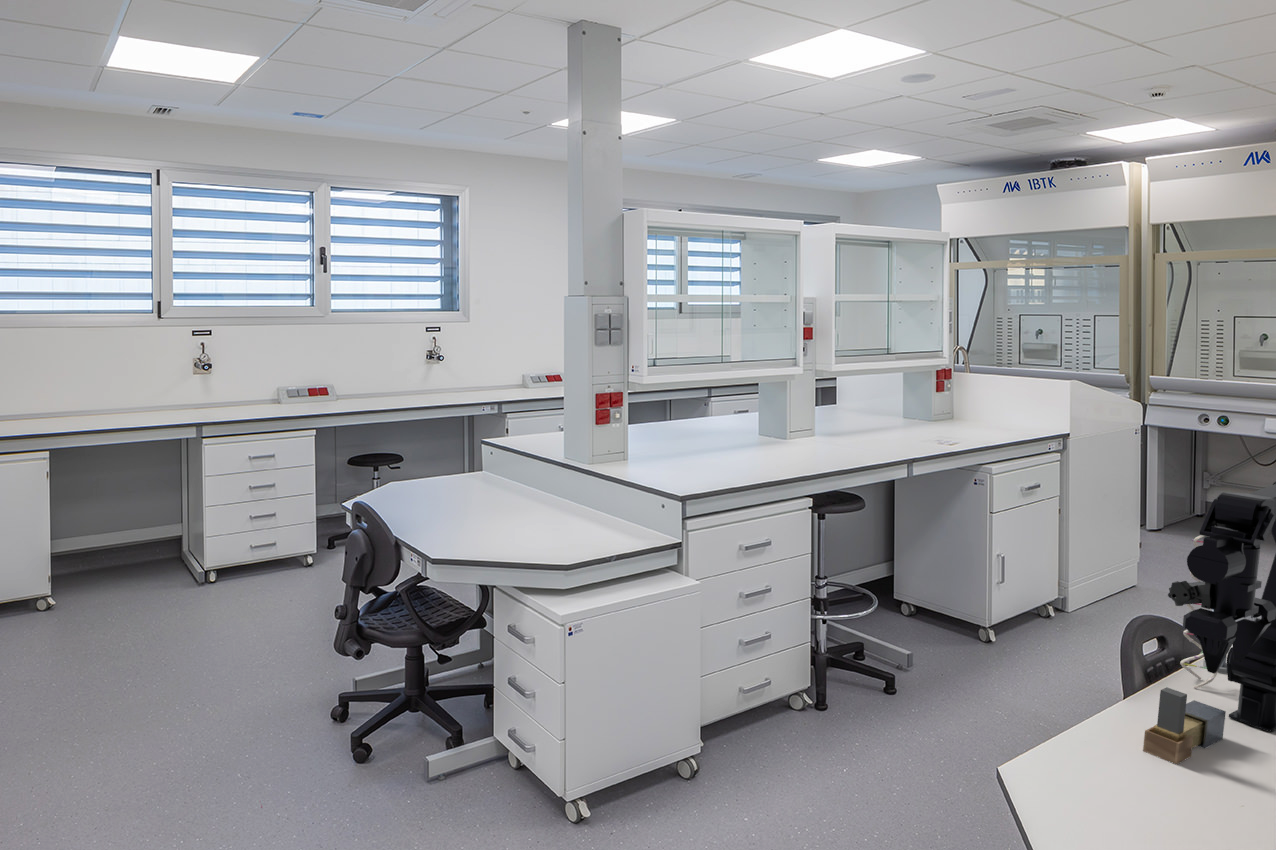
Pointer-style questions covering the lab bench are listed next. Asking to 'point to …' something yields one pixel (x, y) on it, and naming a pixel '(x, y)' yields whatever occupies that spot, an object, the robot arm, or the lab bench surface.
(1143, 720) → the lab bench surface
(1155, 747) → the socket
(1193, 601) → the robot arm
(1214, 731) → the grey end cap
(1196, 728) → the grey and tan block
